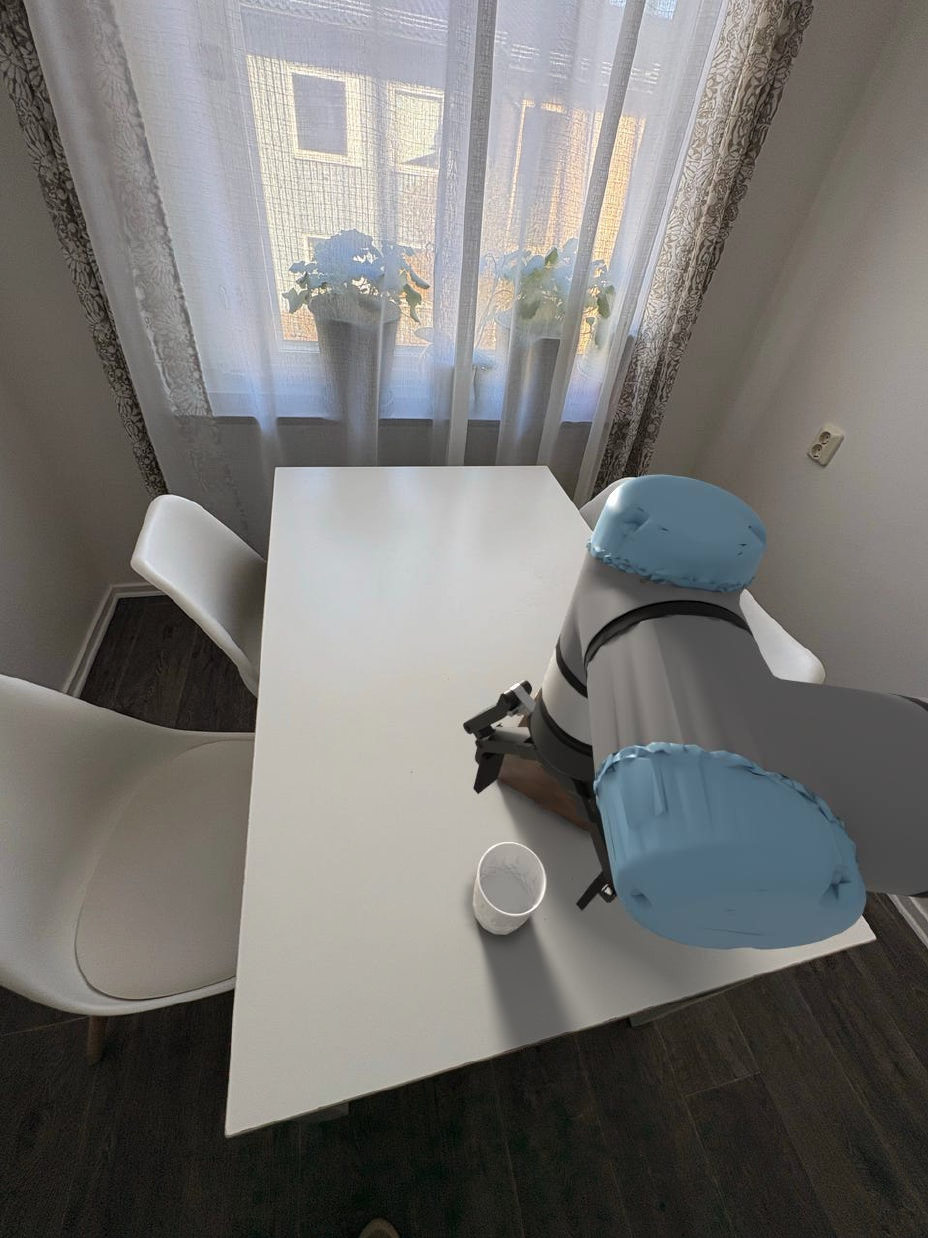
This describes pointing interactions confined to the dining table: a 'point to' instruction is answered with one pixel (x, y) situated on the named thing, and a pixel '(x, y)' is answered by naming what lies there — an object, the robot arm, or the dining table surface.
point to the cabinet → (538, 784)
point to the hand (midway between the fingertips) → (533, 836)
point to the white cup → (508, 887)
